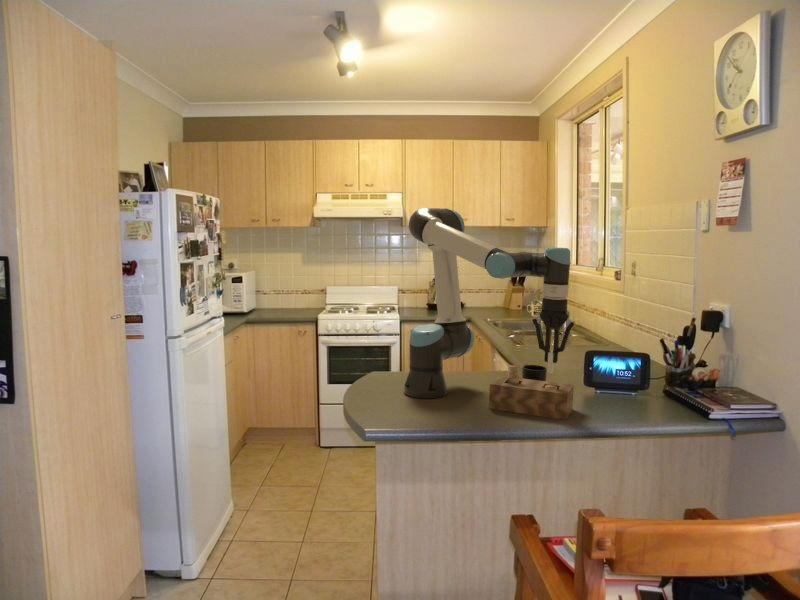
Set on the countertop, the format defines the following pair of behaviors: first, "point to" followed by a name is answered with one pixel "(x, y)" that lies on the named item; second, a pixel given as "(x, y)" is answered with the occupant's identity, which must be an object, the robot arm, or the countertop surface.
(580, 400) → the countertop surface
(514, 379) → the peg
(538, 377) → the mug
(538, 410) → the socket block
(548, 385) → the peg
